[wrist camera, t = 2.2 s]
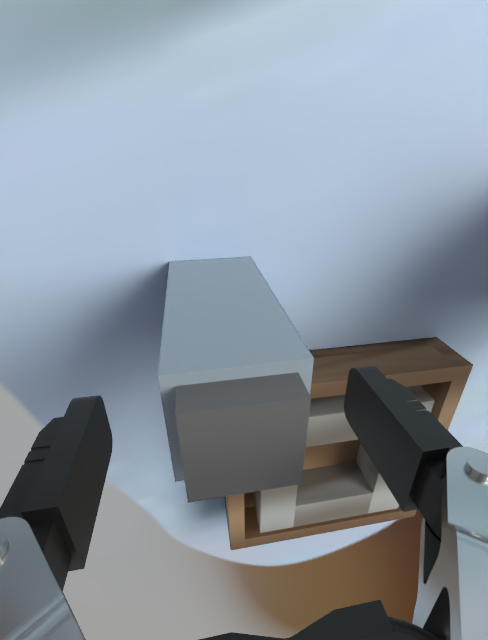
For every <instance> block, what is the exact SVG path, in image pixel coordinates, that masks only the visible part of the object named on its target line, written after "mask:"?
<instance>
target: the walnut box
mask: <svg viewBox="0 0 488 640" xmlns="http://www.w3.org/2000/svg"><path fill="white" fill-rule="evenodd" d="M310 353H311V354H312V356H313V358H314V362H313V372H312V381H311V390H310V396H311V402H310V412H309V421H308V430H307V439H306V448H305V457H304V466H303V475H302V484H298V485H292V486H286V487H280V488H274V489H268V490H261V491H255V492H249V493H243V494H237V495H231V496H225V503H226V514H227V523H228V531H229V539H230V548H231V550H235V549H241V548H246V547H251V546H257V545H262V544H267V543H273V542H278V541H284V540H289V539H294V538H300V537H305V536H310V535H316V534H321V533H327V532H332V531H337V530H343V529H348V528H353V527H359V526H364V525H370V524H375V523H380V522H386V521H391V520H396V519H402V518H407V517H413V516H414V515H415V513H416V511H417V510H412V511H407V512H403V511H402V509H401V508H400V506H399V504H398V503H397V501H396V499H395V498H394V496H393V495H392V493H391V491H390V490H389V488H388V486H387V485H386V483H385V482H384V480H383V478H382V477H381V475H380V474H379V472H378V470H377V469H376V467H375V465H374V464H373V462H372V461H371V459H370V457H369V456H368V454H367V452H366V451H365V449H364V448H363V446H362V444H361V443H360V441H359V439H358V438H357V436H356V435H355V433H354V431H353V430H352V428H351V426H350V425H349V423H348V421H347V419H346V416H345V412H344V399H345V393H346V387H347V381H348V374H349V371H350V369H351V368H356V367H365V366H375V367H377V368H378V369H379V370H380V371H381V373H382V374H383V375H384V376H385V377H386V378H387V379H393V380H394V381H396V382H398V383H399V384H401V385H403V386H404V387H406V388H407V389H408V390H409V391H410V392H411V393H412V394H413V395H414V396H415V397H416V398H417V400H418V401H420V402H421V403H422V404H423V405H424V406H425V407H426V410H427V411H429V412H430V413H431V414H432V415H433V416H434V417H435V418H436V419H437V420H438V421H439V422H440V423H441V424H442V425H443V426H444V427H445V428H446V429H447V430H448V428H449V426H450V423H451V421H452V418H453V415H454V413H455V410H456V408H457V405H458V403H459V400H460V397H461V395H462V392H463V390H464V387H465V384H466V382H467V379H468V377H469V374H470V372H471V369H472V366H473V364H471V363H470V362H469V361H467V360H466V359H465V358H463V357H462V356H461V355H459V354H458V353H457V352H455V351H454V350H453V349H452V348H450V347H449V346H448V345H446V344H445V343H444V342H442V341H441V340H440V339H438V338H437V337H435V338H426V339H416V340H407V341H397V342H387V343H378V344H368V345H358V346H349V347H339V348H330V349H320V350H310Z"/></svg>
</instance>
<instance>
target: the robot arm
mask: <svg viewBox="0 0 488 640" xmlns="http://www.w3.org/2000/svg"><path fill="white" fill-rule="evenodd" d="M344 412H345V416H346V419H347V421H348V423H349V425H350V426H351V428H352V430H353V431H354V433H355V435H356V436H357V438H358V439H359V441H360V443H361V444H362V446H363V448H364V449H365V451H366V452H367V454H368V456H369V457H370V459H371V461H372V462H373V464H374V465H375V467H376V469H377V470H378V472H379V474H380V475H381V477H382V478H383V480H384V482H385V483H386V485H387V486H388V488H389V490H390V491H391V493H392V495H393V496H394V498H395V499H396V501H397V503H398V504H399V506H400V508H401V509H402V511H403V512H407V511H412V510H418V509H419V511H420V512H421V514H422V515H423V517H424V518H423V520H422V524H421V545H420V564H419V585H418V596H417V602H416V606H415V611H414V616H413V623H409V622H407V621H404V620H400V619H397V618H393V617H388V616H387V614H386V612H385V610H384V608H383V605H382V603H381V601H380V600H377V601H372V602H368V603H363V604H359V605H354V606H350V607H345V608H341V609H336V610H333V611H332V612H330V613H329V614H327V615H325V616H324V617H322V618H321V619H319V620H317V621H316V622H314V623H313V624H311V625H310V626H308V627H307V628H305V629H303V630H302V631H300V632H299V633H297V634H296V635H294V636H292V637H290V638H286V639H281V638H273V637H265V636H257V635H248V634H239V633H227V634H222V635H218V636H213V637H209V638H205V639H200V640H488V454H487V453H485V452H483V451H480V450H477V449H474V448H469V447H463V446H462V445H461V444H460V443H459V442H458V441H457V440H456V439H455V438H454V437H453V436H452V435H451V434H450V432H449V431H448V430H447V429H446V428H445V427H444V426H443V425H442V424H441V423H440V422H439V421H438V420H437V419H436V418H435V417H434V416H433V415H432V414H431V413H430V412H429V411H427V410H426V407H425V406H424V405H423V404H422V403H421V402H420V401H418V400H417V398H416V397H415V396H414V395H413V394H412V393H411V392H410V391H409V390H408V389H407V388H406V387H404V386H403V385H401V384H399V383H398V382H396V381H394V380H393V379H387V378H386V377H385V376H384V375H383V374H382V373H381V371H380V370H379V369H378V368H377V367H375V366H365V367H356V368H351V369H350V371H349V374H348V381H347V387H346V393H345V399H344ZM111 453H112V433H111V429H110V425H109V421H108V418H107V414H106V410H105V406H104V402H103V399H102V397H101V396H91V397H82V398H74V399H72V400H71V402H70V404H69V407H68V409H67V411H66V413H65V415H64V417H60V418H54V419H53V420H52V421H51V422H49V423H48V424H47V425H46V426H45V427H44V428H43V429H42V430H41V431H40V432H39V434H38V436H37V438H36V440H35V442H34V444H33V446H32V448H31V451H30V452H29V453H28V456H27V457H26V459H25V464H24V465H22V467H21V469H20V471H19V473H18V475H17V477H16V479H15V481H14V483H13V485H12V486H11V488H10V490H9V492H8V494H7V496H6V498H5V500H4V502H3V504H2V506H1V508H0V640H86V639H85V637H84V635H83V633H82V631H81V629H80V627H79V625H78V623H77V620H76V618H75V616H74V614H73V612H72V610H71V608H70V606H69V604H68V602H67V600H66V598H65V595H64V593H63V587H64V584H65V580H66V577H67V573H68V571H73V570H78V569H84V566H85V562H86V558H87V554H88V550H89V545H90V541H91V537H92V533H93V528H94V524H95V520H96V516H97V512H98V508H99V503H100V499H101V495H102V491H103V486H104V483H105V478H106V474H107V470H108V466H109V462H110V457H111Z"/></svg>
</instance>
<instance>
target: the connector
mask: <svg viewBox="0 0 488 640" xmlns="http://www.w3.org/2000/svg"><path fill="white" fill-rule="evenodd" d="M313 362H314V358H313V356H312V354H311V353H310V351H309V349H308V348H307V346H306V345H305V343H304V341H303V340H302V338H301V337H300V335H299V333H298V332H297V330H296V328H295V327H294V325H293V324H292V322H291V320H290V319H289V317H288V316H287V314H286V312H285V311H284V309H283V308H282V306H281V304H280V303H279V301H278V299H277V298H276V296H275V295H274V293H273V291H272V290H271V288H270V287H269V285H268V283H267V282H266V280H265V278H264V277H263V275H262V274H261V272H260V270H259V269H258V267H257V266H256V264H255V262H254V261H253V259H252V258H251V257H237V258H220V259H204V260H187V261H171V262H169V271H168V280H167V290H166V299H165V309H164V318H163V328H162V338H161V347H160V357H159V366H158V381H159V387H160V393H161V399H162V405H163V411H164V417H165V423H166V429H167V435H168V441H169V447H170V453H171V459H172V465H173V471H174V477H175V482H176V481H182V480H185V485H186V492H187V498H188V502H194V501H200V500H206V499H212V498H218V497H225V496H231V495H237V494H243V493H249V492H255V491H261V490H268V489H274V488H280V487H286V486H292V485H298V484H302V475H303V466H304V457H305V448H306V439H307V430H308V421H309V412H310V402H311V396H310V390H311V381H312V372H313Z"/></svg>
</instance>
